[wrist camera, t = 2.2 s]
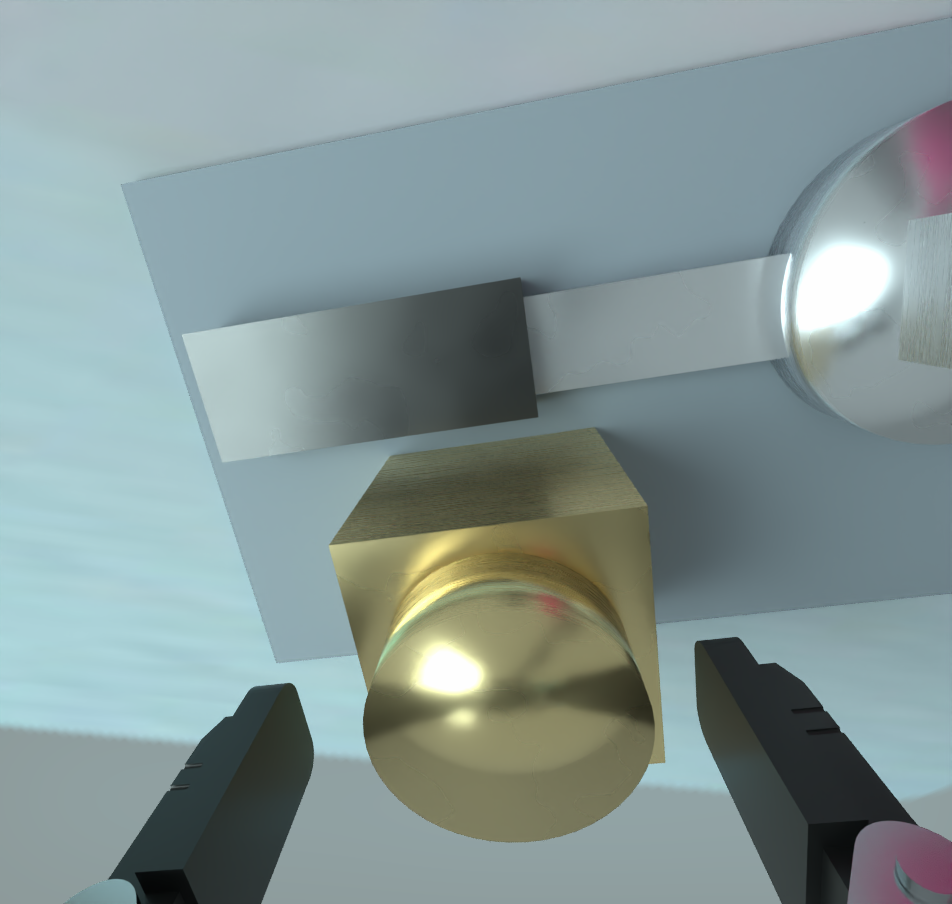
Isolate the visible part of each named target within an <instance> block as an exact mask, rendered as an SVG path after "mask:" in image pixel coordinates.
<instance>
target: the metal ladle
mask: <svg viewBox="0 0 952 904" xmlns="http://www.w3.org/2000/svg"><path fill="white" fill-rule="evenodd" d="M182 338H183V341H184V344H185V347H186V350H187V353H188V356H189V360H190V363H191V366H192V369H193V372H194V375H195V378H196V381H197V385H198V388H199V391H200V394H201V397H202V400H203V403H204V407H205V410H206V413H207V416H208V419H209V422H210V425H211V429H212V432H213V435H214V438H215V441H216V444H217V447H218V450H219V454H220V457H221V460H222V463H224V462H231V461H238V460H244V459H251V458H258V457H265V456H272V455H279V454H286V453H293V452H300V451H307V450H314V449H321V448H328V447H335V446H342V445H349V444H356V443H363V442H370V441H377V440H384V439H391V438H398V437H405V436H412V435H419V434H426V433H433V432H440V431H447V430H454V429H461V428H468V427H475V426H482V425H489V424H496V423H502V422H509V421H516V420H523V419H530V418H537V417H538V409H537V401H536V395H537V394H543V393H550V392H557V391H564V390H571V389H577V388H584V387H591V386H598V385H604V384H611V383H618V382H625V381H632V380H638V379H645V378H652V377H659V376H665V375H672V374H679V373H686V372H692V371H699V370H706V369H713V368H720V367H726V366H733V365H740V364H747V363H753V362H760V361H767V360H770V361H771V363H772V365H773V366H774V368H775V370H776V372H777V374H778V375H779V376H780V378H781V379H782V380H783V382H784V383H785V384H786V386H787V387H788V388H789V389H790V390H791V391H792V392H793V393H794V394H795V395H796V396H797V397H798V398H800V399H801V400H802V401H804V402H805V403H806V404H808V405H809V406H811V407H812V408H814V409H816V410H818V411H820V412H822V413H824V414H826V415H828V416H830V417H833V418H835V419H838V420H840V421H843V422H846V423H848V424H851V425H854V426H856V427H859V428H861V429H864V430H867V431H869V432H872V433H874V434H877V435H880V436H883V437H886V438H890V439H893V440H896V441H902V442H908V443H913V444H930V445H939V444H952V100H951V101H949V102H946V103H944V104H941V105H939V106H937V107H934V108H932V109H930V110H927V111H925V112H923V113H920V114H918V115H915V116H913V117H911V118H908V119H906V120H904V121H901V122H899V123H897V124H894V125H892V126H890V127H887V128H885V129H883V130H880V131H878V132H877V133H875V134H873V135H871V136H869V137H867V138H865V139H863V140H862V141H860V142H858V143H857V144H855V145H854V146H852V147H851V148H849V149H848V150H847V151H845V152H844V153H842V154H841V155H839V156H838V157H837V158H836V159H835V160H834V161H832V162H831V163H830V164H829V165H828V166H827V167H825V168H824V169H823V170H822V171H821V172H820V173H819V174H818V175H817V176H816V177H815V178H814V179H813V180H812V182H811V183H810V184H809V185H808V186H807V187H806V188H805V189H804V191H803V192H802V193H801V195H800V196H799V197H798V199H797V200H796V201H795V203H794V204H793V205H792V207H791V208H790V210H789V211H788V213H787V215H786V217H785V218H784V220H783V222H782V223H781V225H780V227H779V229H778V231H777V233H776V235H775V238H774V240H773V242H772V244H771V247H770V250H769V253H768V256H766V257H760V258H754V259H748V260H741V261H735V262H729V263H723V264H717V265H711V266H705V267H699V268H693V269H687V270H681V271H675V272H669V273H663V274H657V275H651V276H645V277H639V278H633V279H627V280H621V281H615V282H609V283H603V284H597V285H591V286H585V287H579V288H573V289H567V290H561V291H555V292H549V293H543V294H537V295H531V296H525V297H523V292H522V284H521V277H518V278H512V279H506V280H501V281H495V282H489V283H483V284H477V285H471V286H465V287H459V288H453V289H447V290H442V291H436V292H430V293H424V294H418V295H412V296H406V297H400V298H394V299H389V300H383V301H377V302H371V303H365V304H359V305H353V306H347V307H341V308H335V309H330V310H324V311H318V312H312V313H306V314H300V315H294V316H288V317H282V318H276V319H271V320H265V321H259V322H253V323H247V324H241V325H235V326H229V327H223V328H218V329H212V330H206V331H200V332H194V333H188V334H182Z"/></svg>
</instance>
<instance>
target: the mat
mask: <svg viewBox="0 0 952 904" xmlns="http://www.w3.org/2000/svg"><path fill="white" fill-rule="evenodd" d="M951 100H952V17H950V18H946V19H941V20H936V21H931V22H926V23H921V24H916V25H911V26H906V27H901V28H896V29H891V30H886V31H881V32H876V33H871V34H866V35H861V36H856V37H851V38H846V39H841V40H836V41H831V42H826V43H821V44H816V45H811V46H806V47H801V48H796V49H791V50H787V51H782V52H777V53H772V54H767V55H762V56H757V57H752V58H747V59H742V60H737V61H732V62H727V63H722V64H717V65H712V66H707V67H702V68H697V69H692V70H687V71H682V72H677V73H672V74H667V75H662V76H657V77H652V78H647V79H642V80H637V81H633V82H628V83H623V84H618V85H613V86H608V87H603V88H598V89H593V90H588V91H583V92H578V93H573V94H568V95H563V96H558V97H553V98H548V99H543V100H538V101H533V102H528V103H523V104H518V105H513V106H508V107H503V108H498V109H493V110H488V111H483V112H478V113H474V114H469V115H464V116H459V117H454V118H449V119H444V120H439V121H434V122H429V123H424V124H419V125H414V126H409V127H404V128H399V129H394V130H389V131H384V132H379V133H374V134H369V135H364V136H359V137H354V138H349V139H344V140H339V141H334V142H329V143H324V144H320V145H315V146H310V147H305V148H300V149H295V150H290V151H285V152H280V153H275V154H270V155H265V156H260V157H255V158H250V159H245V160H240V161H235V162H230V163H225V164H220V165H215V166H210V167H205V168H200V169H195V170H190V171H185V172H180V173H175V174H170V175H165V176H161V177H156V178H151V179H146V180H141V181H136V182H131V183H126V184H121V187H122V190H123V193H124V196H125V199H126V202H127V205H128V208H129V212H130V215H131V218H132V221H133V224H134V227H135V230H136V233H137V236H138V239H139V242H140V245H141V248H142V251H143V255H144V258H145V261H146V264H147V267H148V270H149V273H150V276H151V279H152V282H153V285H154V288H155V291H156V294H157V298H158V301H159V304H160V307H161V310H162V313H163V316H164V319H165V322H166V325H167V328H168V331H169V334H170V337H171V341H172V344H173V347H174V350H175V353H176V356H177V359H178V362H179V365H180V368H181V371H182V374H183V377H184V380H185V384H186V387H187V390H188V393H189V396H190V399H191V402H192V405H193V408H194V411H195V414H196V417H197V420H198V423H199V427H200V430H201V433H202V436H203V439H204V442H205V445H206V448H207V451H208V454H209V457H210V460H211V463H212V466H213V470H214V473H215V476H216V479H217V482H218V485H219V488H220V491H221V494H222V497H223V500H224V503H225V506H226V510H227V513H228V516H229V519H230V522H231V525H232V528H233V531H234V534H235V537H236V540H237V543H238V546H239V549H240V553H241V556H242V559H243V562H244V565H245V568H246V571H247V574H248V577H249V580H250V583H251V586H252V589H253V592H254V596H255V599H256V602H257V605H258V608H259V611H260V614H261V617H262V620H263V623H264V626H265V629H266V632H267V635H268V639H269V642H270V645H271V648H272V651H273V654H274V657H275V660H276V663H283V662H292V661H302V660H312V659H321V658H331V657H341V656H350V655H358V653H357V650H356V646H355V642H354V639H353V635H352V631H351V627H350V624H349V620H348V616H347V613H346V609H345V605H344V601H343V598H342V594H341V590H340V587H339V583H338V579H337V575H336V572H335V568H334V564H333V561H332V557H331V553H330V549H329V544H330V543H331V541H332V540H333V538H334V537H335V535H336V534H337V532H338V531H339V530H340V528H341V527H342V525H343V524H344V522H345V521H346V519H347V518H348V516H349V515H350V513H351V512H352V511H353V509H354V508H355V506H356V505H357V503H358V502H359V500H360V499H361V497H362V496H363V494H364V493H365V492H366V490H367V489H368V487H369V486H370V484H371V483H372V481H373V480H374V478H375V477H376V475H377V474H378V473H379V471H380V470H381V468H382V467H383V465H384V464H385V462H386V461H387V459H388V458H389V456H393V455H400V454H407V453H414V452H421V451H429V450H436V449H443V448H450V447H457V446H464V445H471V444H479V443H486V442H493V441H500V440H507V439H514V438H521V437H528V436H536V435H543V434H550V433H557V432H564V431H571V430H578V429H586V428H593V427H595V428H596V430H597V431H598V433H599V434H600V436H601V437H602V439H603V440H604V442H605V443H606V445H607V446H608V448H609V449H610V451H611V452H612V454H613V455H614V457H615V458H616V460H617V461H618V463H619V464H620V466H621V467H622V469H623V470H624V471H625V473H626V474H627V476H628V477H629V479H630V480H631V482H632V483H633V485H634V486H635V488H636V489H637V491H638V492H639V494H640V495H641V497H642V498H643V500H644V501H645V503H646V504H647V506H648V518H649V533H650V547H651V562H652V577H653V591H654V606H655V620H656V624H660V623H669V622H679V621H689V620H698V619H708V618H718V617H727V616H737V615H747V614H756V613H766V612H776V611H785V610H795V609H805V608H814V607H824V606H834V605H843V604H853V603H863V602H872V601H882V600H892V599H901V598H911V597H921V596H930V595H940V594H950V593H952V444H939V445H930V444H913V443H908V442H902V441H896V440H893V439H890V438H886V437H883V436H880V435H877V434H874V433H872V432H869V431H867V430H864V429H861V428H859V427H856V426H854V425H851V424H848V423H846V422H843V421H840V420H838V419H835V418H833V417H830V416H828V415H826V414H824V413H822V412H820V411H818V410H816V409H814V408H812V407H811V406H809V405H808V404H806V403H805V402H804V401H802V400H801V399H800V398H798V397H797V396H796V395H795V394H794V393H793V392H792V391H791V390H790V389H789V388H788V387H787V386H786V384H785V383H784V382H783V380H782V379H781V378H780V376H779V375H778V374H777V372H776V370H775V368H774V366H773V365H772V363H771V361H770V360H767V361H760V362H753V363H747V364H740V365H733V366H726V367H720V368H713V369H706V370H699V371H692V372H686V373H679V374H672V375H665V376H659V377H652V378H645V379H638V380H632V381H625V382H618V383H611V384H604V385H598V386H591V387H584V388H577V389H571V390H564V391H557V392H550V393H543V394H537V395H536V401H537V409H538V417H537V418H530V419H523V420H516V421H509V422H502V423H496V424H489V425H482V426H475V427H468V428H461V429H454V430H447V431H440V432H433V433H426V434H419V435H412V436H405V437H398V438H391V439H384V440H377V441H370V442H363V443H356V444H349V445H342V446H335V447H328V448H321V449H314V450H307V451H300V452H293V453H286V454H279V455H272V456H265V457H258V458H251V459H244V460H238V461H231V462H224V463H222V460H221V457H220V454H219V450H218V447H217V444H216V441H215V438H214V435H213V432H212V429H211V425H210V422H209V419H208V416H207V413H206V410H205V407H204V403H203V400H202V397H201V394H200V391H199V388H198V385H197V381H196V378H195V375H194V372H193V369H192V366H191V363H190V360H189V356H188V353H187V350H186V347H185V344H184V341H183V338H182V334H188V333H194V332H200V331H206V330H212V329H218V328H223V327H229V326H235V325H241V324H247V323H253V322H259V321H265V320H271V319H276V318H282V317H288V316H294V315H300V314H306V313H312V312H318V311H324V310H330V309H335V308H341V307H347V306H353V305H359V304H365V303H371V302H377V301H383V300H389V299H394V298H400V297H406V296H412V295H418V294H424V293H430V292H436V291H442V290H447V289H453V288H459V287H465V286H471V285H477V284H483V283H489V282H495V281H501V280H506V279H512V278H518V277H521V284H522V292H523V297H525V296H531V295H537V294H543V293H549V292H555V291H561V290H567V289H573V288H579V287H585V286H591V285H597V284H603V283H609V282H615V281H621V280H627V279H633V278H639V277H645V276H651V275H657V274H663V273H669V272H675V271H681V270H687V269H693V268H699V267H705V266H711V265H717V264H723V263H729V262H735V261H741V260H748V259H754V258H760V257H766V256H768V253H769V250H770V247H771V244H772V242H773V240H774V238H775V235H776V233H777V231H778V229H779V227H780V225H781V223H782V222H783V220H784V218H785V217H786V215H787V213H788V211H789V210H790V208H791V207H792V205H793V204H794V203H795V201H796V200H797V199H798V197H799V196H800V195H801V193H802V192H803V191H804V189H805V188H806V187H807V186H808V185H809V184H810V183H811V182H812V180H813V179H814V178H815V177H816V176H817V175H818V174H819V173H820V172H821V171H822V170H823V169H824V168H825V167H827V166H828V165H829V164H830V163H831V162H832V161H834V160H835V159H836V158H837V157H838V156H839V155H841V154H842V153H844V152H845V151H847V150H848V149H849V148H851V147H852V146H854V145H855V144H857V143H858V142H860V141H862V140H863V139H865V138H867V137H869V136H871V135H873V134H875V133H877V132H878V131H880V130H883V129H885V128H887V127H890V126H892V125H894V124H897V123H899V122H901V121H904V120H906V119H908V118H911V117H913V116H915V115H918V114H920V113H923V112H925V111H927V110H930V109H932V108H934V107H937V106H939V105H941V104H944V103H946V102H949V101H951Z"/></svg>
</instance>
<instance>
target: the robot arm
mask: <svg viewBox="0 0 952 904" xmlns="http://www.w3.org/2000/svg"><path fill="white" fill-rule="evenodd" d="M695 674H696V697H697V711H698V716H699V721H700V725H701V729H702V732H703V735H704V738H705V740H706V743H707V745H708V747H709V749H710V751H711V753H712V756H713V758H714V760H715V762H716V764H717V766H718V768H719V771H720V773H721V775H722V777H723V779H724V781H725V783H726V785H727V788H728V790H729V792H730V794H731V796H732V798H733V800H734V803H735V805H736V807H737V809H738V811H739V813H740V815H741V817H742V819H743V822H744V824H745V826H746V828H747V830H748V832H749V834H750V837H751V839H752V841H753V843H754V845H755V847H756V849H757V851H758V854H759V856H760V858H761V860H762V862H763V864H764V866H765V869H766V870H767V873H768V875H769V877H770V879H771V881H772V883H773V885H774V888H775V890H776V892H777V894H778V896H779V898H780V901H781V903H782V904H952V842H951V841H949V840H947V839H946V838H944V837H942V836H941V835H939V834H937V833H934V832H932V831H930V830H928V829H925V828H923V827H920V826H918V825H917V824H916V822H915V821H914V820H913V819H912V818H911V817H910V815H909V814H908V813H907V812H906V810H905V809H904V808H903V807H902V805H901V804H900V803H899V802H898V800H897V799H896V798H895V797H894V795H893V794H892V793H891V792H890V790H889V789H888V788H887V786H886V785H885V784H884V783H883V781H882V780H881V779H880V778H879V776H878V775H877V774H876V773H875V771H874V770H873V769H872V768H871V766H870V765H869V764H868V763H867V761H866V760H865V759H864V758H863V756H862V755H861V754H860V752H859V751H858V750H857V749H856V747H855V746H854V745H853V744H852V742H851V741H850V740H849V739H848V737H847V736H846V735H845V734H844V733H841V731H840V727H839V726H838V725H837V724H836V722H835V721H834V720H833V719H832V717H831V716H830V715H829V713H828V712H827V711H826V712H825V711H824V709H823V706H822V705H821V703H820V702H819V701H818V700H817V698H816V697H815V696H814V695H813V693H812V692H811V691H810V690H809V688H808V687H807V686H806V685H805V683H804V682H803V681H801V680H800V679H798V678H797V677H795V676H794V675H793V674H791V673H790V672H788V671H787V670H785V669H784V668H782V667H781V666H779V665H778V664H776V663H769V664H758V663H757V662H756V660H755V659H754V657H753V656H752V654H751V653H750V652H749V650H748V649H747V647H746V646H745V645H744V643H743V642H742V641H741V640H740V639H739V638H738V637H732V638H722V639H713V640H703V641H697V642H696V643H695ZM313 759H314V749H313V742H312V738H311V735H310V732H309V728H308V725H307V722H306V719H305V715H304V712H303V709H302V706H301V702H300V699H299V696H298V693H297V690H296V688H295V686H294V685H293V684H291V683H284V684H275V685H265V686H256V687H253V688H251V689H250V690H249V692H248V693H247V694H246V696H245V698H244V699H243V701H242V702H241V704H240V705H239V707H238V709H237V710H236V712H235V713H234V715H233V716H230V717H225V718H224V719H223V720H222V721H221V722H220V723H219V724H218V725H217V726H215V727H214V728H213V729H212V730H211V731H210V732H209V733H208V734H207V735H206V736H205V737H204V738H203V739H202V740H201V741H200V743H199V744H198V746H197V747H196V749H195V750H194V752H193V753H192V755H191V756H190V758H189V759H188V761H187V762H186V764H185V768H184V769H183V770H181V771H180V773H179V774H178V776H177V777H176V779H175V780H174V782H173V783H172V785H171V789H170V791H167V792H166V794H165V795H164V797H163V798H162V800H161V801H160V803H159V804H158V806H157V807H156V809H155V810H154V812H153V813H152V815H151V816H150V818H149V819H148V821H147V822H146V824H145V825H144V827H143V828H142V830H141V831H140V833H139V834H138V836H137V837H136V839H135V840H134V842H133V843H132V845H131V846H130V848H129V849H128V851H127V852H126V854H125V855H124V857H123V858H122V860H121V861H120V863H119V864H118V866H117V867H116V869H115V870H114V872H113V873H112V875H111V876H110V877H109V879H108V880H106V881H102V882H99V883H97V884H94V885H92V886H90V887H88V888H86V889H84V890H82V891H81V892H79V893H77V894H76V895H74V896H73V897H71V898H70V899H69V900H67V901H66V902H65V903H64V904H261V902H262V900H263V897H264V895H265V892H266V889H267V887H268V884H269V882H270V879H271V877H272V874H273V872H274V869H275V866H276V864H277V861H278V858H279V856H280V853H281V851H282V848H283V846H284V843H285V840H286V838H287V835H288V833H289V830H290V828H291V825H292V822H293V820H294V817H295V815H296V812H297V810H298V807H299V805H300V802H301V799H302V797H303V794H304V792H305V789H306V786H307V784H308V781H309V779H310V776H311V771H312V768H313Z"/></svg>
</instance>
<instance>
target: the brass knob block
mask: <svg viewBox="0 0 952 904" xmlns="http://www.w3.org/2000/svg"><path fill="white" fill-rule="evenodd" d="M329 549H330V553H331V557H332V561H333V564H334V568H335V572H336V575H337V579H338V583H339V587H340V590H341V594H342V598H343V601H344V605H345V609H346V613H347V616H348V620H349V624H350V627H351V631H352V635H353V639H354V642H355V646H356V650H357V653H358V657H359V661H360V665H361V668H362V672H363V676H364V679H365V683H366V687H367V691H368V696H367V699H366V703H365V708H364V716H363V729H364V738H365V743H366V748H367V751H368V754H369V756H370V759H371V762H372V764H373V766H374V768H375V769H376V771H377V773H378V775H379V777H380V778H381V779H382V781H383V782H384V783H385V785H386V786H387V788H388V789H389V790H390V791H391V792H392V793H393V794H394V795H395V796H396V797H397V798H398V799H399V800H400V801H401V802H402V803H403V804H404V805H406V806H407V807H408V808H409V809H411V810H412V811H414V812H415V813H416V814H418V815H419V816H421V817H422V818H424V819H426V820H427V821H429V822H431V823H433V824H435V825H437V826H439V827H442V828H444V829H447V830H449V831H452V832H454V833H457V834H461V835H464V836H468V837H472V838H476V839H482V840H487V841H496V842H531V841H540V840H546V839H550V838H555V837H560V836H563V835H566V834H569V833H572V832H575V831H578V830H580V829H582V828H585V827H587V826H589V825H591V824H593V823H595V822H596V821H598V820H600V819H602V818H603V817H605V816H606V815H607V814H609V813H610V812H612V811H613V810H614V809H616V808H617V807H618V806H619V805H620V804H621V803H622V802H623V801H624V800H625V799H626V798H627V797H628V796H629V795H630V794H631V793H632V792H633V790H634V789H635V788H636V786H637V785H638V784H639V782H640V780H641V779H642V777H643V775H644V773H645V771H646V769H647V767H648V764H654V763H665V751H664V737H663V722H662V708H661V693H660V678H659V664H658V649H657V635H656V620H655V606H654V591H653V577H652V562H651V547H650V533H649V518H648V506H647V504H646V503H645V501H644V500H643V498H642V497H641V495H640V494H639V492H638V491H637V489H636V488H635V486H634V485H633V483H632V482H631V480H630V479H629V477H628V476H627V474H626V473H625V471H624V470H623V469H622V467H621V466H620V464H619V463H618V461H617V460H616V458H615V457H614V455H613V454H612V452H611V451H610V449H609V448H608V446H607V445H606V443H605V442H604V440H603V439H602V437H601V436H600V434H599V433H598V431H597V430H596V428H595V427H593V428H586V429H578V430H571V431H564V432H557V433H550V434H543V435H536V436H528V437H521V438H514V439H507V440H500V441H493V442H486V443H479V444H471V445H464V446H457V447H450V448H443V449H436V450H429V451H421V452H414V453H407V454H400V455H393V456H389V458H388V459H387V461H386V462H385V464H384V465H383V467H382V468H381V470H380V471H379V473H378V474H377V475H376V477H375V478H374V480H373V481H372V483H371V484H370V486H369V487H368V489H367V490H366V492H365V493H364V494H363V496H362V497H361V499H360V500H359V502H358V503H357V505H356V506H355V508H354V509H353V511H352V512H351V513H350V515H349V516H348V518H347V519H346V521H345V522H344V524H343V525H342V527H341V528H340V530H339V531H338V532H337V534H336V535H335V537H334V538H333V540H332V541H331V543H330V544H329Z"/></svg>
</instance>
